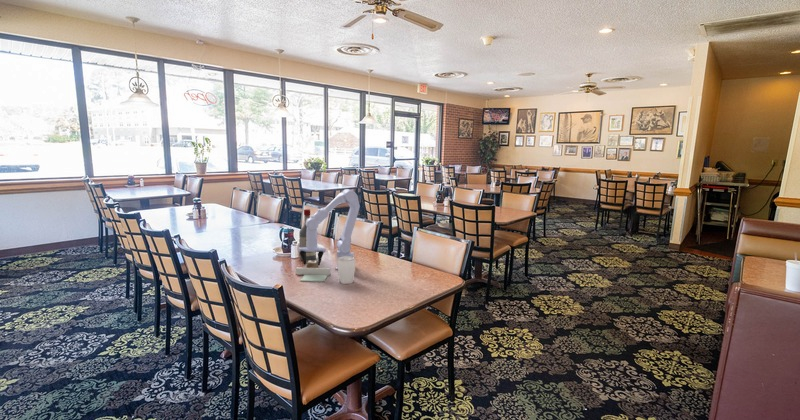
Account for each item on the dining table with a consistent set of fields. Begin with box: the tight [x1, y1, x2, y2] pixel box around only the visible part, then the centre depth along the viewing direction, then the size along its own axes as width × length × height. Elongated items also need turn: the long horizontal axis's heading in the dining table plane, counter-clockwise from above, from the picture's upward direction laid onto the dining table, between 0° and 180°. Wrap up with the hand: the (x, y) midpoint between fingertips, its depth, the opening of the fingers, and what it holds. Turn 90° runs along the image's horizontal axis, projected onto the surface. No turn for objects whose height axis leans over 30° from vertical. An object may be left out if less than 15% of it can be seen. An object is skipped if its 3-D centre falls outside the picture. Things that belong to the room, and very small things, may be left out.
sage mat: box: [299, 275, 329, 283], centre depth 193 cm, size 12×9×1 cm
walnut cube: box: [306, 260, 319, 268], centre depth 206 cm, size 5×5×5 cm
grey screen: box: [295, 266, 331, 276], centre depth 199 cm, size 18×1×4 cm, turn 90°
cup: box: [336, 256, 356, 285], centre depth 189 cm, size 9×9×12 cm
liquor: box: [298, 208, 317, 262], centre depth 226 cm, size 9×9×30 cm
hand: (312, 264), depth 206 cm, fingers open, 7 cm apart
